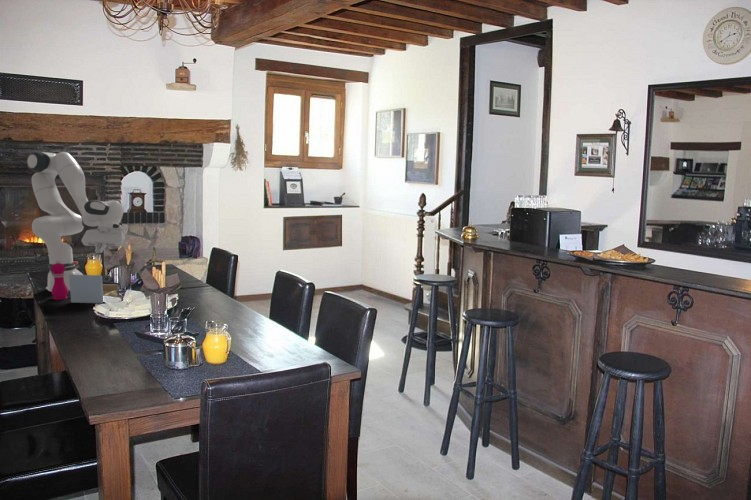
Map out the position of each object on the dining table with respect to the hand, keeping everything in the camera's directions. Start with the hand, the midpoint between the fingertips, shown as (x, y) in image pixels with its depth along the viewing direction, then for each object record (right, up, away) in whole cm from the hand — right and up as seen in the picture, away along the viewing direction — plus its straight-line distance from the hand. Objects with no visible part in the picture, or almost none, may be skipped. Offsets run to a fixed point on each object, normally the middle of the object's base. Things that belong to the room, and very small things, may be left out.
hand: (98, 252), depth 316 cm
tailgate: (-1, -24, -9) cm, 25 cm away
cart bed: (-1, -24, -1) cm, 24 cm away
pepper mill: (-18, -24, 0) cm, 30 cm away
